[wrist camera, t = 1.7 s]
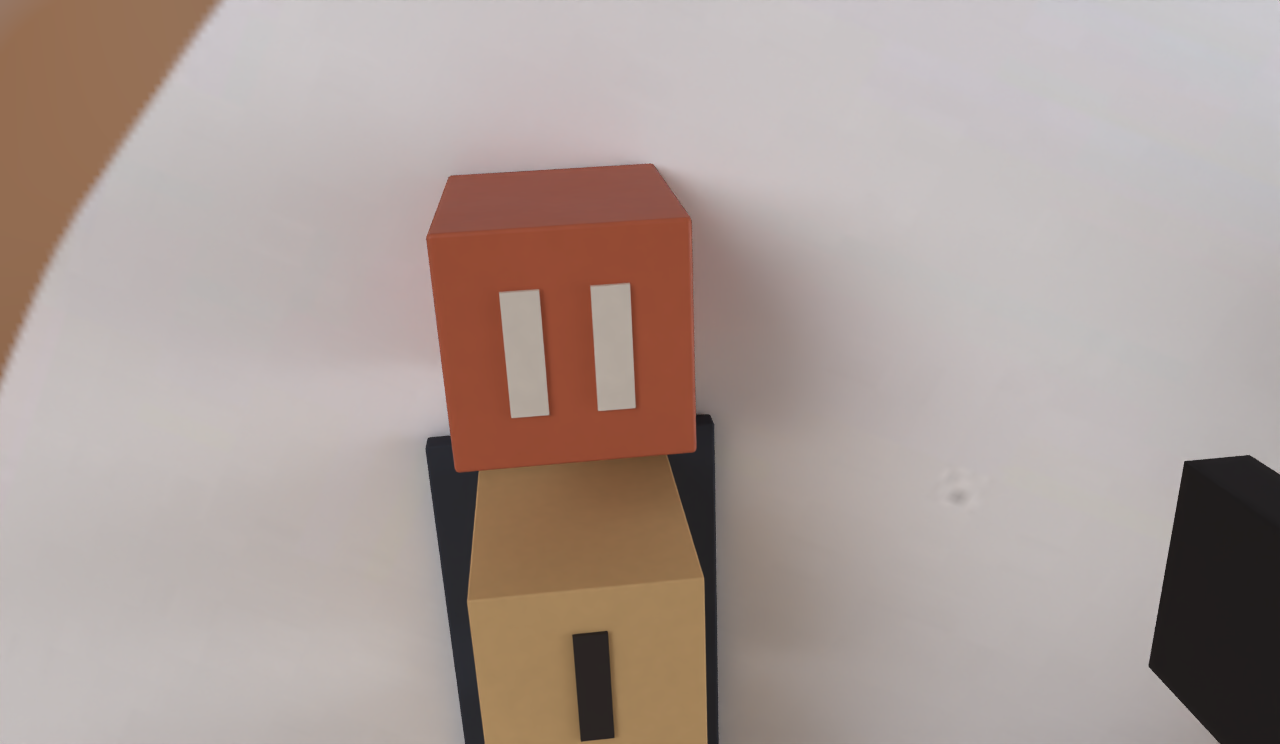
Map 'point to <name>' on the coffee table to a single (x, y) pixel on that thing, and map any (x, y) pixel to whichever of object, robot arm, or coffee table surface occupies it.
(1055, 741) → the coffee table surface
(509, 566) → the tan boxes on tray
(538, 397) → the pause symbol cube
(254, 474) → the coffee table surface
